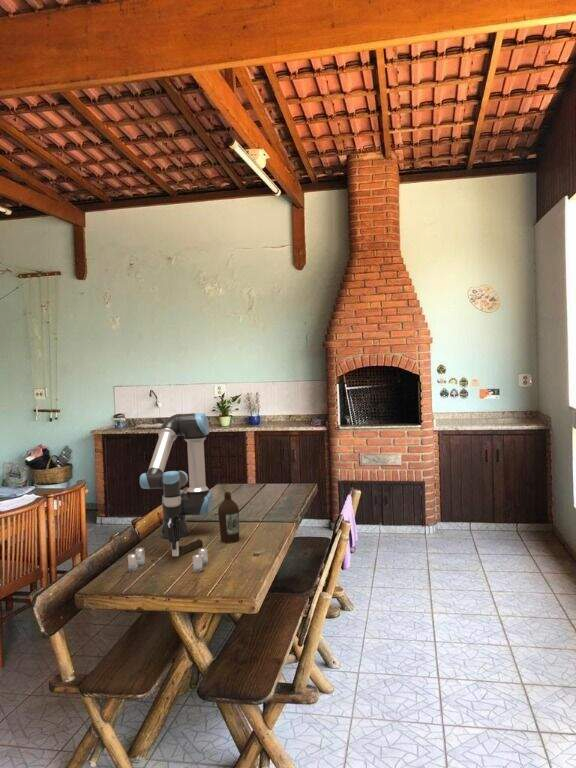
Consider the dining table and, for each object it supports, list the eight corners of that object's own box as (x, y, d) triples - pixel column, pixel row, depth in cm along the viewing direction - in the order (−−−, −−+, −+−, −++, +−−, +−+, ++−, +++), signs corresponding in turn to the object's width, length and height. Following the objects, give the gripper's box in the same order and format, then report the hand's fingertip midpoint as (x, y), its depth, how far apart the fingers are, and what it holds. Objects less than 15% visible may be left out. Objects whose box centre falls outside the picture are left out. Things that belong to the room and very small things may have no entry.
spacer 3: (195, 569, 253) (194, 553, 252) (203, 569, 252) (202, 553, 252) (192, 572, 249) (191, 556, 249) (201, 572, 248) (200, 556, 248)
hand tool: (197, 546, 286) (196, 537, 286) (203, 547, 284) (202, 538, 284) (169, 558, 271) (168, 548, 271) (175, 559, 269) (174, 549, 268)
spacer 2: (138, 562, 265) (137, 547, 265) (146, 562, 265) (145, 547, 265) (134, 565, 262) (133, 550, 261) (143, 565, 261) (142, 550, 261)
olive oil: (216, 540, 294) (213, 491, 293) (234, 535, 300) (231, 488, 299) (225, 544, 285) (222, 495, 284) (244, 540, 291) (241, 491, 290)
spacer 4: (200, 562, 261) (199, 547, 260) (209, 562, 260) (208, 547, 260) (197, 566, 257) (197, 550, 256) (206, 566, 256) (205, 550, 256)
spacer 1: (131, 568, 258) (130, 553, 257) (139, 568, 257) (138, 553, 257) (127, 572, 254) (126, 556, 253) (135, 572, 253) (134, 556, 253)
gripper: (175, 508, 258) (178, 560, 259) (185, 501, 271) (188, 551, 272) (159, 508, 259) (162, 560, 260) (170, 501, 272) (172, 551, 273)
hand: (175, 555), depth 266 cm, fingers closed
